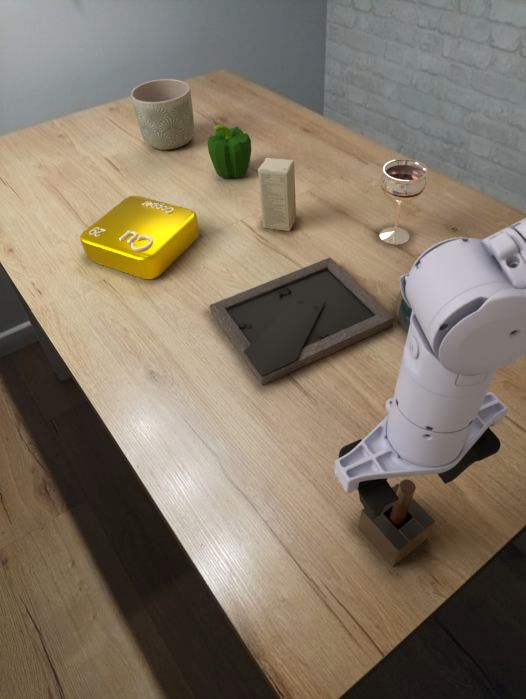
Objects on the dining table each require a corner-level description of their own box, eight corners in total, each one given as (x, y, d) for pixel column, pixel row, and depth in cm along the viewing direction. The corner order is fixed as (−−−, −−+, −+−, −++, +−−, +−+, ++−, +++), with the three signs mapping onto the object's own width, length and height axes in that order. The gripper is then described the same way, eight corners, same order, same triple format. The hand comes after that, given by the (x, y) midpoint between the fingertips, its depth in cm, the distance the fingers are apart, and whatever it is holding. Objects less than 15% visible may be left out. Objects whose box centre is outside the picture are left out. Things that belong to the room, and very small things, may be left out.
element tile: (204, 232, 90) (200, 208, 87) (153, 283, 82) (147, 259, 78) (136, 213, 96) (130, 190, 92) (82, 259, 87) (72, 235, 84)
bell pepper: (252, 161, 107) (249, 112, 99) (253, 182, 101) (249, 131, 94) (212, 164, 107) (206, 115, 100) (210, 184, 101) (204, 134, 94)
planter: (133, 153, 112) (120, 101, 104) (153, 127, 120) (143, 77, 112) (187, 156, 110) (178, 103, 102) (204, 130, 118) (197, 79, 110)
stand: (392, 500, 55) (397, 482, 52) (428, 537, 52) (435, 520, 49) (357, 527, 53) (361, 510, 51) (392, 567, 51) (398, 551, 48)
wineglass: (378, 221, 90) (386, 156, 81) (417, 227, 88) (431, 161, 79) (370, 244, 86) (378, 177, 77) (411, 250, 84) (425, 183, 75)
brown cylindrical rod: (400, 528, 53) (417, 481, 46) (398, 541, 52) (414, 495, 45) (387, 524, 54) (401, 476, 46) (384, 536, 53) (398, 490, 45)
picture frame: (262, 385, 67) (392, 325, 73) (261, 375, 65) (394, 315, 71) (211, 312, 77) (329, 265, 83) (209, 302, 75) (330, 255, 81)
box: (296, 218, 92) (296, 159, 84) (289, 232, 89) (288, 173, 81) (268, 214, 93) (265, 156, 85) (261, 227, 91) (257, 169, 82)
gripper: (480, 329, 40) (444, 426, 50) (317, 394, 37) (313, 485, 47) (549, 393, 36) (494, 486, 46) (370, 474, 32) (353, 556, 42)
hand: (405, 490), depth 46 cm, fingers open, 7 cm apart
